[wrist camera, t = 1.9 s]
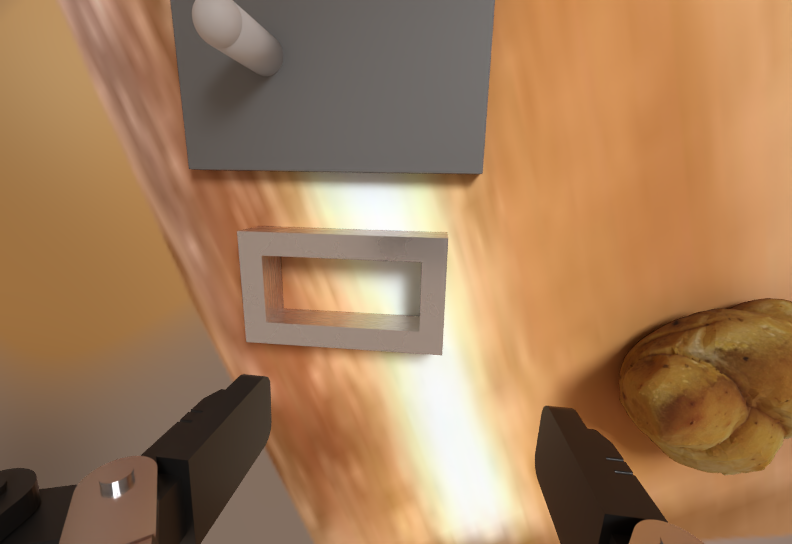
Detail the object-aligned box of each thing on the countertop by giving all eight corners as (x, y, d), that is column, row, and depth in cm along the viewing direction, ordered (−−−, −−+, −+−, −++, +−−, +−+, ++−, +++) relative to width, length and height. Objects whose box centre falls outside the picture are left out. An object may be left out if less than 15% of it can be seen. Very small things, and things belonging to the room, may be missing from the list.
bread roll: (766, 259, 24) (921, 295, 16) (819, 377, 26) (985, 462, 18) (579, 346, 27) (636, 411, 19) (636, 448, 28) (711, 548, 21)
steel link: (447, 232, 26) (448, 238, 23) (441, 337, 28) (442, 355, 25) (258, 226, 27) (237, 231, 25) (265, 326, 29) (246, 341, 26)
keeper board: (497, -73, 21) (527, -209, 14) (479, 174, 25) (497, 169, 17) (179, -56, 24) (60, -166, 16) (202, 169, 27) (112, 164, 19)
